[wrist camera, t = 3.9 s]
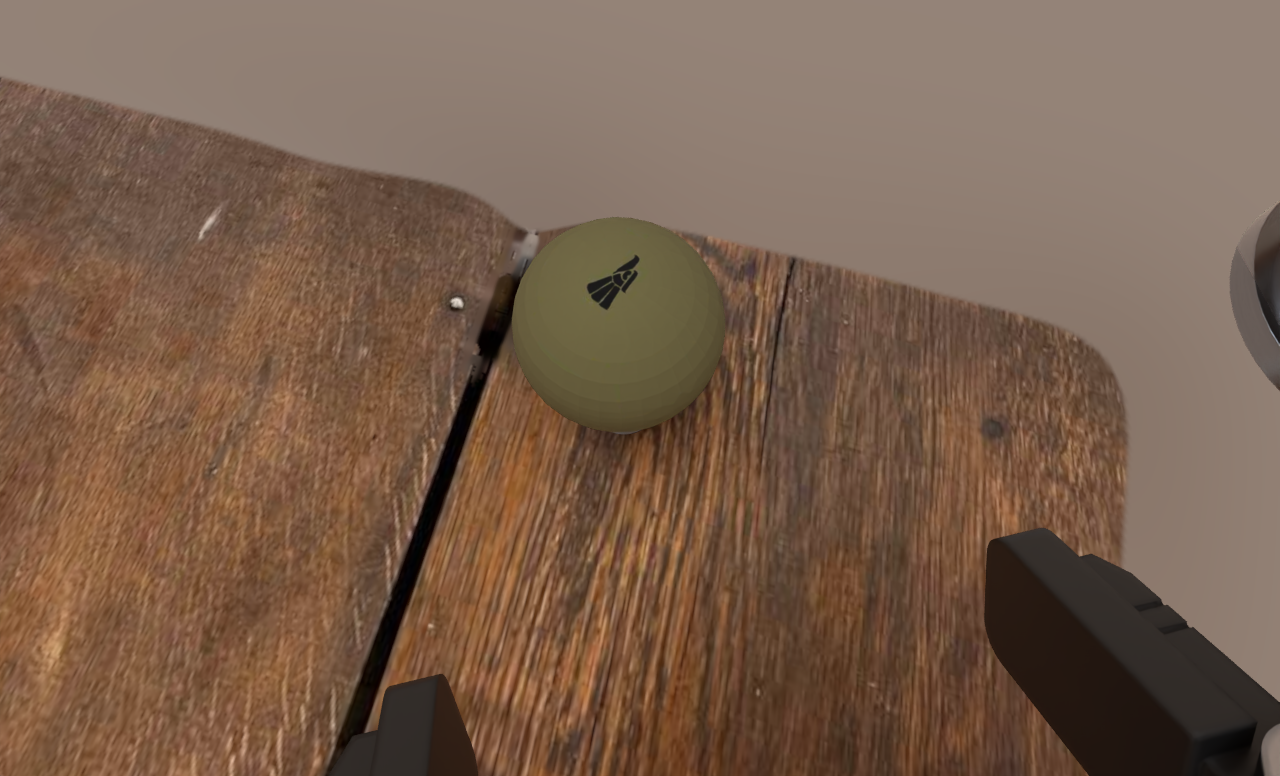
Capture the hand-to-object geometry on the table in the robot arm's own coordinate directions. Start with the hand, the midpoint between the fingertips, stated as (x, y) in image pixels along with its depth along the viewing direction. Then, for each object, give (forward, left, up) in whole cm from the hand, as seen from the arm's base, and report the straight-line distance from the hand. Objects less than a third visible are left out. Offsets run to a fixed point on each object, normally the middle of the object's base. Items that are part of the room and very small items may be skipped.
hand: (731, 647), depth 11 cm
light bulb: (0, -8, -14) cm, 17 cm away
